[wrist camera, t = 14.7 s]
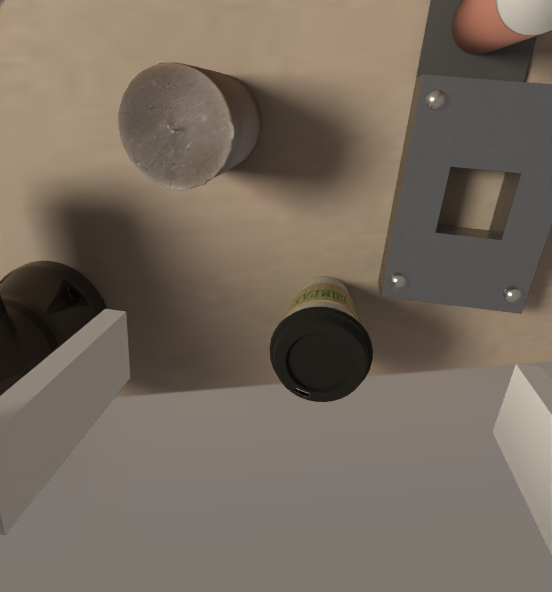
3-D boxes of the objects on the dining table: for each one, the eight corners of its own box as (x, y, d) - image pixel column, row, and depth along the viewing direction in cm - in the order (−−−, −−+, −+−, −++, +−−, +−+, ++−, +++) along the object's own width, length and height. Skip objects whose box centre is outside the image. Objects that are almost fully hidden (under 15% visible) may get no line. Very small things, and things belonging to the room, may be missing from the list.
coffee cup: (380, 284, 52) (395, 345, 38) (341, 347, 56) (341, 423, 42) (306, 247, 51) (294, 296, 37) (272, 314, 55) (250, 380, 41)
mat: (416, 77, 43) (417, 77, 43) (439, -46, 39) (440, -48, 39) (521, 86, 42) (522, 85, 42) (555, -41, 38) (557, -42, 38)
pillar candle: (167, 78, 46) (94, 67, 32) (257, 68, 44) (220, 51, 31) (183, 172, 50) (124, 197, 36) (266, 166, 48) (237, 189, 35)
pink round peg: (445, 52, 41) (487, 31, 30) (460, -16, 39) (512, -68, 27) (503, 57, 41) (569, 38, 29) (522, -11, 39) (602, -62, 27)
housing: (378, 283, 52) (381, 298, 47) (416, 77, 43) (424, 73, 39) (508, 299, 50) (523, 316, 46) (575, 90, 42) (602, 87, 37)
